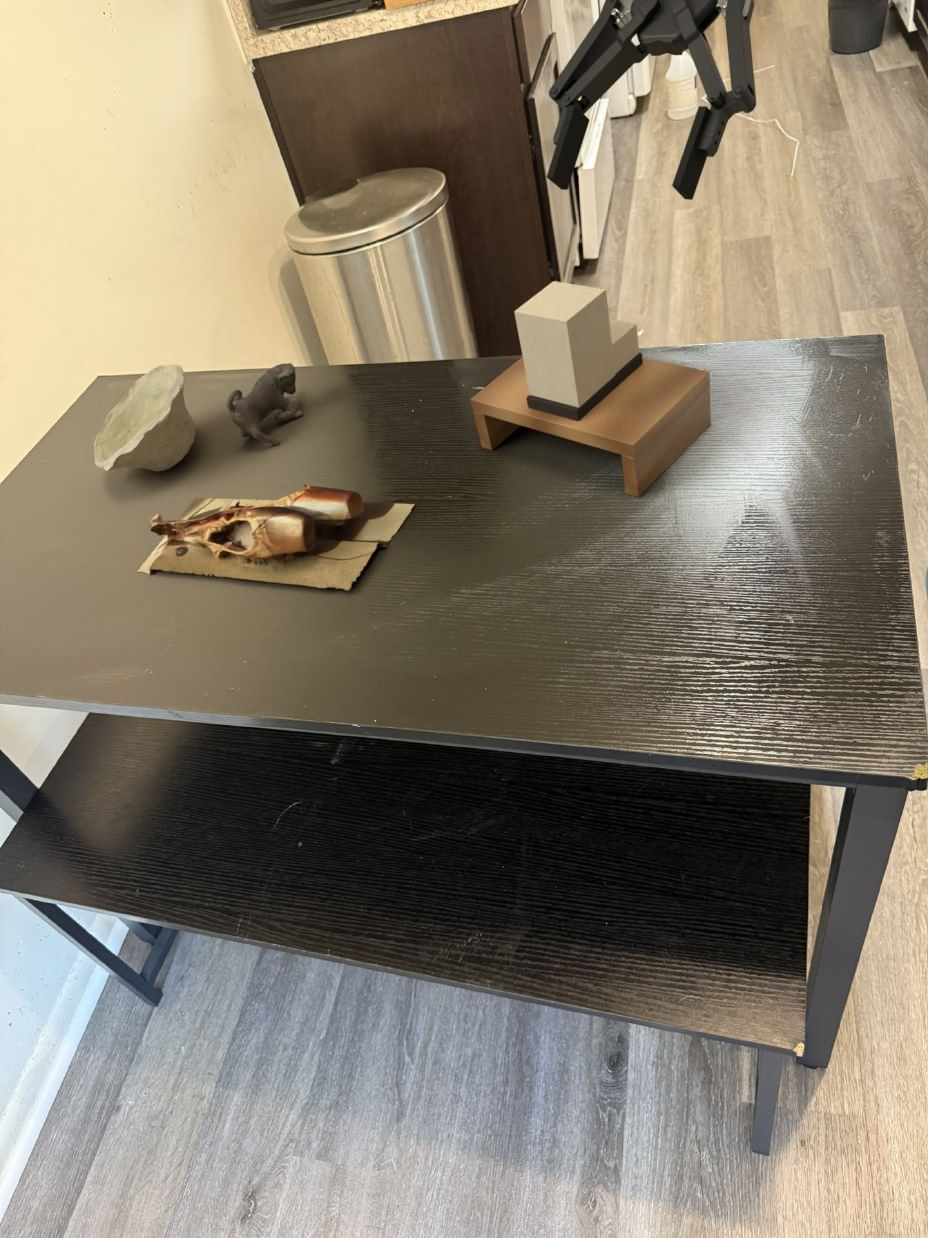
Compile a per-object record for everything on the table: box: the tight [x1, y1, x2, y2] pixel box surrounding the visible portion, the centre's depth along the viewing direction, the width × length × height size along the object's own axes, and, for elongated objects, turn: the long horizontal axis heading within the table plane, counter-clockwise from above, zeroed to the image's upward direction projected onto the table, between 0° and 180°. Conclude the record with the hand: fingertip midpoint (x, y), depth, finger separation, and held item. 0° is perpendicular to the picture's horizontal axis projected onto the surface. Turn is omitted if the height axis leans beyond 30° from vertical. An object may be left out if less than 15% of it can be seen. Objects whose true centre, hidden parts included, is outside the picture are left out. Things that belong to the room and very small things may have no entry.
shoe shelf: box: [469, 356, 712, 498], centre depth 88 cm, size 20×13×6 cm, turn 48°
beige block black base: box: [514, 280, 643, 421], centre depth 83 cm, size 11×6×10 cm, turn 138°
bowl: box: [93, 364, 196, 472], centre depth 103 cm, size 15×14×10 cm
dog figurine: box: [226, 362, 304, 446], centre depth 104 cm, size 12×6×7 cm, turn 152°
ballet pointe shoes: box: [137, 483, 415, 591], centre depth 87 cm, size 14×7×28 cm
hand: (616, 188), depth 79 cm, fingers open, 13 cm apart
